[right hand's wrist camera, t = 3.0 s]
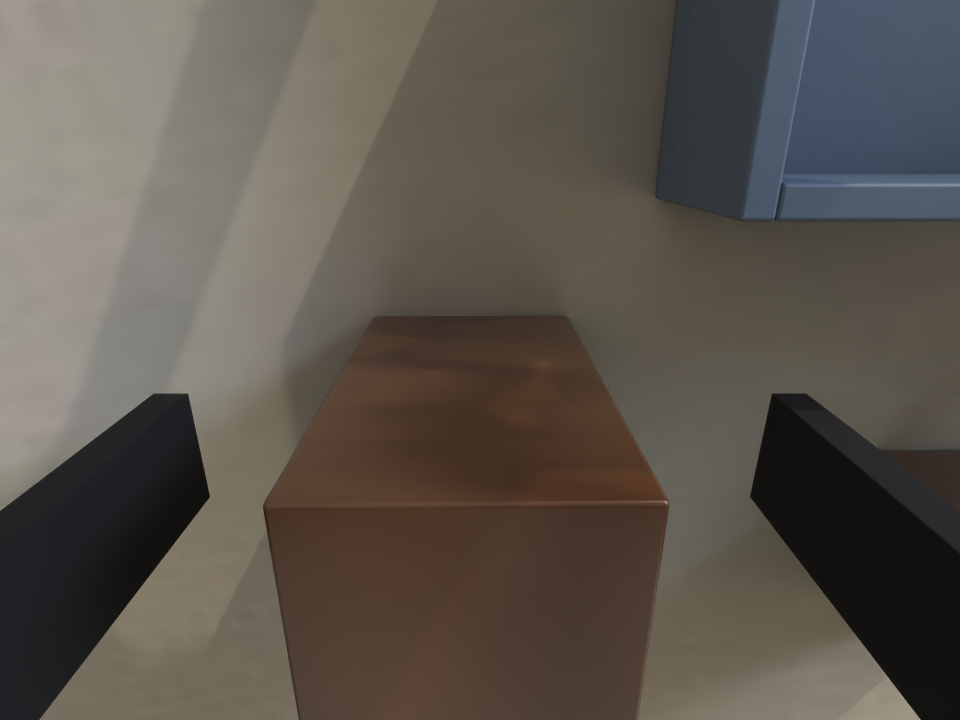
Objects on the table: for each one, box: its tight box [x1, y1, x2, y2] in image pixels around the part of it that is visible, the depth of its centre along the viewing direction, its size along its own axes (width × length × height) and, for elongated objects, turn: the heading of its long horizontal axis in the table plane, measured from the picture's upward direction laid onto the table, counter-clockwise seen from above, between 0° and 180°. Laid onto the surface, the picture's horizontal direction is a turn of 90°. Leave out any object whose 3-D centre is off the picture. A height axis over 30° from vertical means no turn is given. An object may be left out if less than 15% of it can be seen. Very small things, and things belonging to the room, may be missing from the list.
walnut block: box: [263, 316, 669, 720], centre depth 11 cm, size 5×5×8 cm
